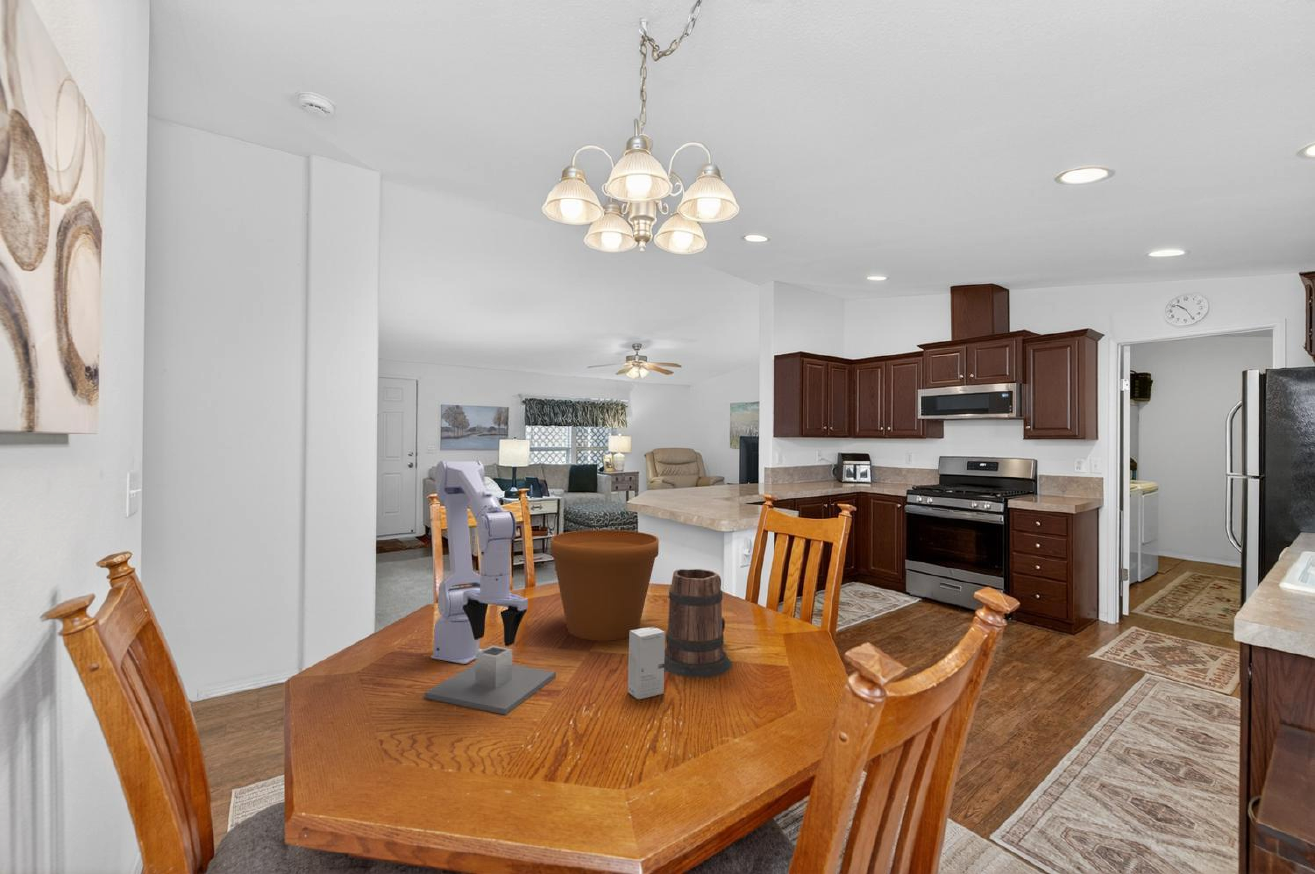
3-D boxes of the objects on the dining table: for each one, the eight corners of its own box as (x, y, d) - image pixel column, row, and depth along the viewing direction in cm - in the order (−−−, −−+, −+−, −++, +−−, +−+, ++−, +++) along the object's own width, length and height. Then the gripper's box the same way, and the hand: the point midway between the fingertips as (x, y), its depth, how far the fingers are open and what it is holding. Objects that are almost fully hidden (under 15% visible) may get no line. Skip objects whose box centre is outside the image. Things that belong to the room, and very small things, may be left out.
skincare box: (638, 700, 112) (639, 637, 112) (626, 691, 116) (627, 630, 116) (665, 693, 115) (666, 631, 115) (652, 685, 119) (654, 625, 119)
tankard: (714, 684, 120) (715, 586, 120) (642, 667, 128) (644, 575, 128) (753, 649, 141) (754, 565, 141) (689, 636, 149) (690, 557, 149)
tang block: (424, 697, 111) (424, 676, 111) (482, 663, 128) (483, 645, 128) (505, 714, 105) (506, 692, 105) (555, 676, 122) (556, 657, 122)
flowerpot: (676, 624, 158) (678, 537, 158) (614, 656, 134) (616, 553, 134) (594, 606, 173) (596, 526, 173) (525, 632, 149) (527, 539, 149)
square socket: (475, 683, 116) (475, 653, 116) (492, 674, 120) (492, 645, 120) (495, 688, 114) (496, 657, 114) (511, 679, 118) (512, 649, 118)
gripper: (537, 572, 117) (536, 640, 117) (480, 565, 123) (479, 629, 123) (515, 580, 111) (514, 652, 111) (456, 571, 117) (454, 640, 117)
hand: (494, 641), depth 117 cm, fingers open, 7 cm apart
